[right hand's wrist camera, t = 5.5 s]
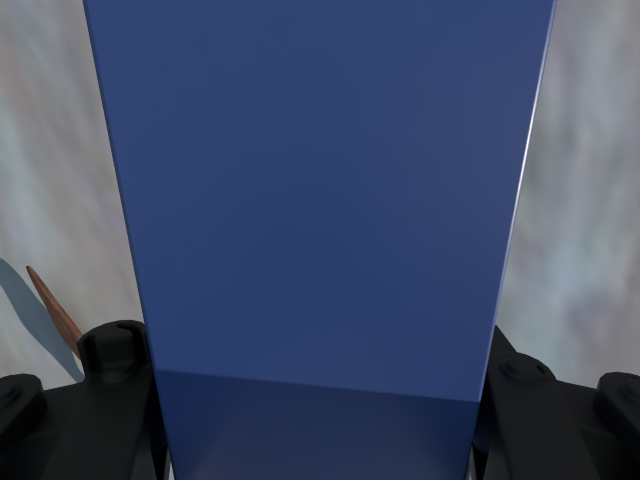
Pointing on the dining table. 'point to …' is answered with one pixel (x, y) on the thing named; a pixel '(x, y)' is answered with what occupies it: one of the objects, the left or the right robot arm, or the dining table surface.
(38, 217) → the dining table surface
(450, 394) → the bar
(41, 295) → the fork
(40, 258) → the dining table surface
